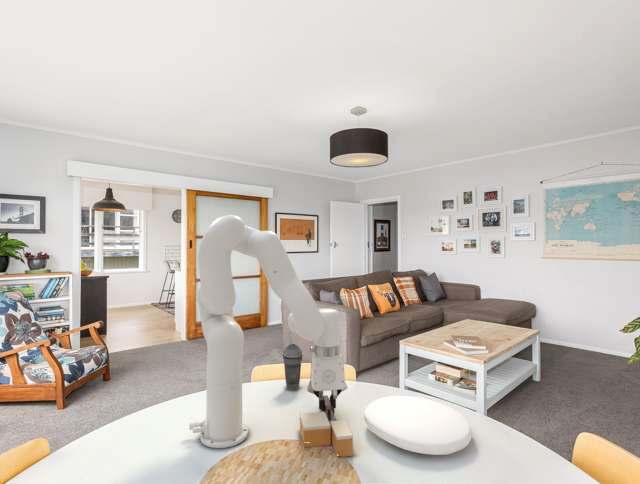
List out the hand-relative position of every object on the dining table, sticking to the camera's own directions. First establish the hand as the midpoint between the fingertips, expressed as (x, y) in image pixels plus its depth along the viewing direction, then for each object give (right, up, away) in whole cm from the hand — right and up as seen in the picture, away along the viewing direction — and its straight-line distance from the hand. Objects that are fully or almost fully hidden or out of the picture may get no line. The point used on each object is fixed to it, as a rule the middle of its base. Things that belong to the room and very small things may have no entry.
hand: (327, 410), depth 112 cm
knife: (+1, 0, -4) cm, 5 cm away
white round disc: (+24, -1, -11) cm, 26 cm away
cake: (-4, -1, -13) cm, 14 cm away
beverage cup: (-12, -2, +21) cm, 24 cm away
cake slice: (+3, -1, -18) cm, 18 cm away
